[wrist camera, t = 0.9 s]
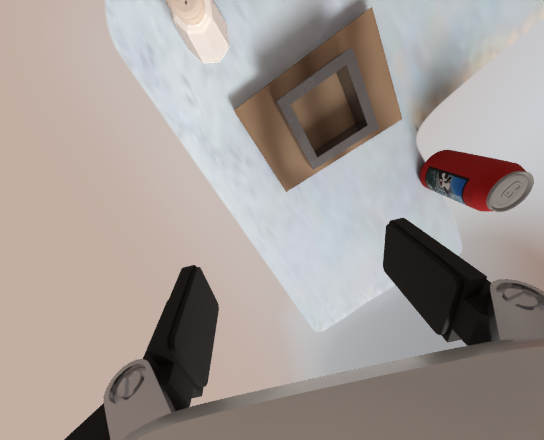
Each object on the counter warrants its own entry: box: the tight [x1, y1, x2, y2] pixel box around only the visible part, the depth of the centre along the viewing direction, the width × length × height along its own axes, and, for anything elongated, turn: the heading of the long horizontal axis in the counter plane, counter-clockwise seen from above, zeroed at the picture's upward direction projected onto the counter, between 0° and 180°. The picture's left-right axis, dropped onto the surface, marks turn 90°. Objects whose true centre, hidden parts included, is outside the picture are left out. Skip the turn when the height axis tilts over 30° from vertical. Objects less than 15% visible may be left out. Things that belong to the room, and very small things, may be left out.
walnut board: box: [234, 7, 402, 192], centre depth 30 cm, size 20×14×2 cm
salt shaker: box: [166, 0, 229, 63], centre depth 20 cm, size 5×5×11 cm
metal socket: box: [274, 47, 379, 170], centre depth 28 cm, size 10×10×4 cm
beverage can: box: [420, 150, 534, 212], centre depth 31 cm, size 7×7×12 cm
